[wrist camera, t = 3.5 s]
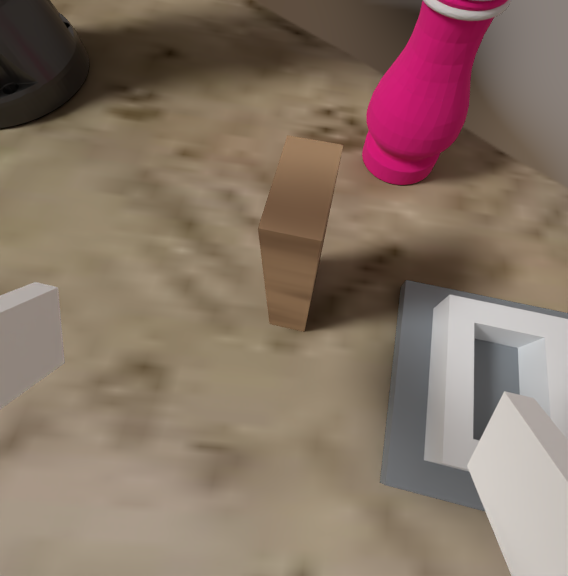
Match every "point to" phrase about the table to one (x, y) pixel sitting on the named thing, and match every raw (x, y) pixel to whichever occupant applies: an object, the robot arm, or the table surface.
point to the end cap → (464, 382)
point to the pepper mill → (426, 90)
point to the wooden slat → (296, 227)
